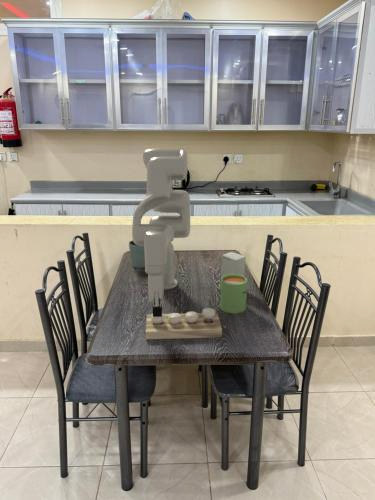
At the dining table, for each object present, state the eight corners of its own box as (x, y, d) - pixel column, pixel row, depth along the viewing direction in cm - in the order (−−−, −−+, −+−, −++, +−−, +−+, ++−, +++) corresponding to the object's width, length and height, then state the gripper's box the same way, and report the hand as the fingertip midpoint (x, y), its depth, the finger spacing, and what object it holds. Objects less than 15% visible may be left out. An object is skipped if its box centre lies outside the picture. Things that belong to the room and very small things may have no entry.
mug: (246, 314, 152) (247, 285, 148) (218, 312, 153) (219, 283, 149) (247, 299, 163) (249, 273, 159) (222, 297, 165) (223, 271, 161)
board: (147, 321, 146) (147, 314, 145) (217, 319, 147) (217, 312, 146) (145, 339, 135) (145, 331, 134) (221, 337, 136) (222, 329, 135)
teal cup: (145, 269, 194) (144, 246, 190) (126, 267, 197) (125, 244, 193) (152, 262, 204) (152, 240, 200) (134, 260, 206) (133, 238, 202)
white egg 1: (168, 325, 143) (168, 313, 141) (180, 325, 143) (180, 312, 141) (168, 331, 139) (168, 319, 137) (181, 331, 139) (181, 318, 137)
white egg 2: (185, 324, 143) (185, 311, 141) (197, 323, 143) (197, 311, 141) (185, 330, 139) (185, 317, 137) (198, 330, 139) (198, 317, 137)
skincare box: (219, 287, 174) (220, 254, 169) (229, 283, 178) (231, 251, 173) (234, 294, 168) (235, 259, 163) (244, 289, 173) (246, 256, 167)
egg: (201, 320, 143) (201, 307, 141) (213, 319, 143) (214, 307, 141) (202, 326, 139) (203, 313, 137) (215, 326, 139) (215, 313, 137)
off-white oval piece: (151, 324, 142) (151, 312, 141) (164, 324, 142) (163, 312, 141) (151, 331, 138) (151, 318, 136) (164, 330, 138) (163, 318, 137)
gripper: (146, 259, 139) (147, 306, 145) (144, 275, 125) (145, 326, 131) (167, 258, 140) (168, 305, 146) (167, 275, 126) (168, 326, 132)
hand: (157, 315), depth 138 cm, fingers closed
